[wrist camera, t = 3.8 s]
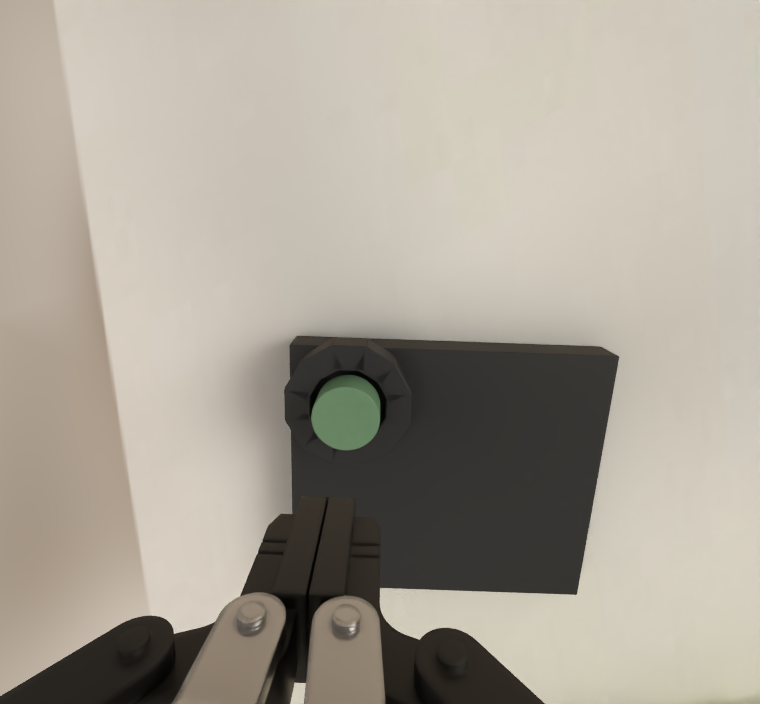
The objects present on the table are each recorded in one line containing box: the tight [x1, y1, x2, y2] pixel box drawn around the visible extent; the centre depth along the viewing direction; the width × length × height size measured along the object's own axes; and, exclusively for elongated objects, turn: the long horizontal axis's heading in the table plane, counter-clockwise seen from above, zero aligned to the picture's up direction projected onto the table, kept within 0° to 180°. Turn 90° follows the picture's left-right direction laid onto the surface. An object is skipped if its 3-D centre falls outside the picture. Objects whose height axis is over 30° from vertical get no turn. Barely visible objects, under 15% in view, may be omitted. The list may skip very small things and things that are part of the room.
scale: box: [284, 336, 619, 595], centre depth 24 cm, size 16×14×4 cm
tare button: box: [311, 375, 380, 450], centre depth 21 cm, size 3×3×2 cm
